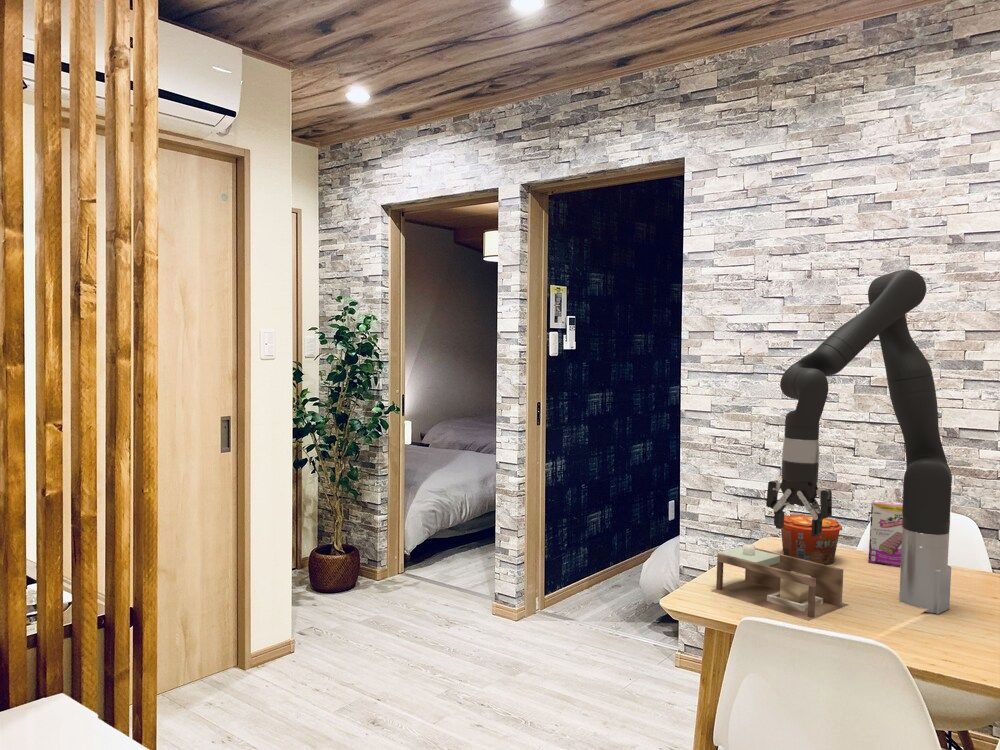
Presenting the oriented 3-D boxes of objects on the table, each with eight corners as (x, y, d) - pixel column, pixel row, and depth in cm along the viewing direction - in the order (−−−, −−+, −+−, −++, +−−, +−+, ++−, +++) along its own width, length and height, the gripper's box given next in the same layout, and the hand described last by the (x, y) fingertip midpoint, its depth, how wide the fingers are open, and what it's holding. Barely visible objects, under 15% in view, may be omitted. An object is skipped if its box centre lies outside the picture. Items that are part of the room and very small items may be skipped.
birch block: (810, 603, 175) (811, 576, 175) (798, 607, 172) (800, 579, 172) (790, 597, 179) (791, 571, 179) (779, 601, 176) (780, 574, 176)
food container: (853, 566, 210) (855, 525, 210) (799, 568, 206) (801, 527, 206) (816, 550, 226) (817, 512, 225) (765, 552, 222) (767, 514, 221)
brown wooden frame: (848, 609, 175) (850, 568, 175) (808, 625, 164) (810, 581, 164) (752, 582, 193) (753, 544, 193) (710, 595, 183) (711, 555, 182)
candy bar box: (867, 563, 213) (870, 502, 213) (870, 558, 218) (872, 499, 217) (915, 569, 208) (917, 507, 207) (916, 565, 212) (919, 504, 211)
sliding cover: (779, 562, 184) (780, 546, 184) (755, 569, 178) (756, 553, 177) (742, 552, 192) (742, 538, 191) (717, 559, 185) (717, 544, 185)
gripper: (840, 462, 171) (836, 536, 172) (780, 453, 182) (777, 523, 183) (822, 464, 167) (818, 541, 167) (761, 455, 178) (758, 527, 178)
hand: (797, 532), depth 175 cm, fingers open, 8 cm apart
